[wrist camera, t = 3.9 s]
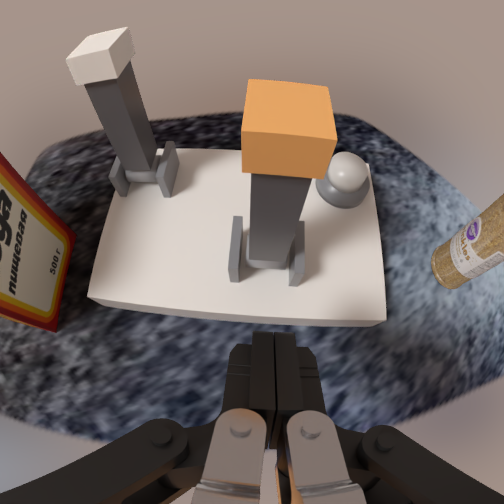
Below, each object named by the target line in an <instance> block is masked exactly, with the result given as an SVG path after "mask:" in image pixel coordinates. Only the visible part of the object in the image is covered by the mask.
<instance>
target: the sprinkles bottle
mask: <svg viewBox="0 0 504 504" xmlns="http://www.w3.org/2000/svg"><path fill="white" fill-rule="evenodd" d="M431 259H432V260H431V267H432V271H433V274H434V276H435V278H436V279H437V280H438V282H439V283H440V284H441V285H442V286H444V287H446V288H448V289H456V288H458V287H460V286H461V285H462V284H463V283H465V282H467V281H469V280H470V279H472V278H475V277H477V276H479V275H481V274H483V273H484V272H486V271H488V270H490V269H491V268H493V267H495V266H496V265H498V264H500V263H501V262H503V261H504V194H503V195H502V196H501V197H499V199H497V200H496V201H495V202H494V203H493V204H492V205H490V207H488V209H486V210H485V211H484V212H483V213H481V214H480V215H479V216H478V217H477V218H475V219H473V220H472V221H471V222H469V223H468V224H467V225H466V226H465V227H463V228H462V229H461V230H460V231H459V232H457V233H456V234H455V235H454V236H453V237H452V238H451V239H450V240H449V241H447V242H446V243H445V244H443V245H441V246H439V247H437V248H436V250H435V251H434V253H433V255H432V258H431Z"/></svg>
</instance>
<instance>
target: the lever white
mask: <svg viewBox="0 0 504 504" xmlns="http://www.w3.org/2000/svg"><path fill="white" fill-rule="evenodd" d="M134 54H135V50H134V46H133V43H132V39H131V34H130V30H129V27H124V28H119V29H115V30H110V31H106V32H102V33H97V34H93V35H90V36H87V37H86V39H84V40H83V42H81V44H80V45H79V46H78V47H77V48H76V49H75V50H74V51H73V52H72V53H71V54H70V55H69V56H68V57H67V58H66V62H67V65H68V67H69V69H70V72H71V74H72V76H73V79H74V81H75V83H76V85H82V84H84V86H85V88H86V90H87V92H88V95H89V97H90V99H91V101H92V104H93V106H94V108H95V110H96V112H97V115H98V117H99V119H100V121H101V123H102V125H103V128H104V130H105V132H106V134H107V136H108V138H109V140H110V142H111V144H112V146H113V148H114V150H115V152H116V154H117V156H118V158H119V160H120V162H121V164H122V166H123V168H124V170H125V173H126V178H127V180H128V181H129V182H157V180H156V173H157V170H158V167H159V163H160V160H161V157H162V155H156V152H157V149H158V148H157V145H156V142H155V139H154V136H153V133H152V130H151V127H150V124H149V121H148V118H147V115H146V111H145V108H144V105H143V102H142V98H141V95H140V92H139V89H138V85H137V82H136V79H135V75H134V72H133V68H132V65H131V62H130V60H131V58H132V57H133V56H134Z"/></svg>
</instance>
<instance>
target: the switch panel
mask: <svg viewBox="0 0 504 504" xmlns="http://www.w3.org/2000/svg"><path fill="white" fill-rule="evenodd" d="M156 155H162V157H161V160H160V163H159V167H158V170H157V173H156V180H157V182H129V181H128V180H127V178H126V173H125V170H124V168H123V166H122V164H121V162H120V160H119V158H118V156H117V157H116V159H115V162H114V164H113V167H112V169H111V172H110V174H109V179H110V181H111V182H112V184H113V186H114V187H115V189H116V190H115V193H114V196H113V199H112V202H111V205H110V208H109V212H108V215H107V218H106V221H105V225H104V228H103V232H102V235H101V239H100V243H99V247H98V250H97V254H96V258H95V262H94V267H93V271H92V275H91V280H90V284H89V289H88V294H87V297H89V298H90V299H92V300H94V301H96V302H98V303H99V304H101V305H103V306H108V307H114V308H121V309H127V310H134V311H142V312H149V313H157V314H165V315H173V316H182V317H191V318H201V319H211V320H223V321H235V322H248V323H262V324H280V325H301V326H333V327H372V326H374V325H376V324H379V323H381V322H383V321H386V297H385V282H384V270H383V259H382V249H381V240H380V232H379V224H378V217H377V210H376V204H375V197H374V191H373V186H372V180H371V175H370V170H369V164H365V162H364V161H363V160H362V159H361V158H360V157H358V156H357V155H355V154H353V153H349V152H340V153H337V154H335V155H334V156H333V158H331V160H330V162H329V165H328V168H327V171H326V174H325V176H324V179H314V178H312V181H311V184H310V188H309V191H308V194H307V197H306V200H305V203H304V206H303V210H302V213H301V216H300V219H299V222H298V225H297V228H296V231H295V234H294V237H293V240H292V243H291V246H290V249H289V252H288V260H287V266H286V270H280V269H265V268H251V267H245V265H246V247H247V236H248V234H249V231H250V194H251V173H242V150H220V149H176V148H175V144H174V141H167V142H166V145H165V148H164V149H157V152H156Z"/></svg>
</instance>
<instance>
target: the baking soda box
mask: <svg viewBox="0 0 504 504" xmlns="http://www.w3.org/2000/svg"><path fill="white" fill-rule="evenodd" d="M76 236H77V235H76V234H75V233H74V232H73V231H72V230H71V229H70V228H69V227H68V226H67V225H66V224H65V223H64V222H63V221H62V220H61V219H60V218H59V217H58V216H57V215H56V214H55V213H54V212H53V211H52V210H51V209H50V208H49V207H48V206H47V204H46V203H45V202H44V201H43V200H42V199H41V198H40V197H39V196H38V195H37V194H36V193H35V192H34V191H33V189H32V188H31V187H30V186H29V185H28V184H27V183H26V182H25V181H24V179H23V178H22V177H21V176H20V175H19V174H18V173H17V171H16V170H15V169H14V168H13V167H12V166H11V164H10V163H9V162H8V161H7V160H6V158H5V157H4V156H3V155H2V154H1V152H0V317H3V318H6V319H8V320H11V321H14V322H18V323H21V324H25V325H28V326H32V327H36V328H39V329H43V330H47V331H51V332H55V333H56V330H57V323H58V317H59V311H60V305H61V300H62V294H63V289H64V285H65V280H66V275H67V271H68V267H69V263H70V259H71V255H72V251H73V247H74V243H75V240H76Z"/></svg>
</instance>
